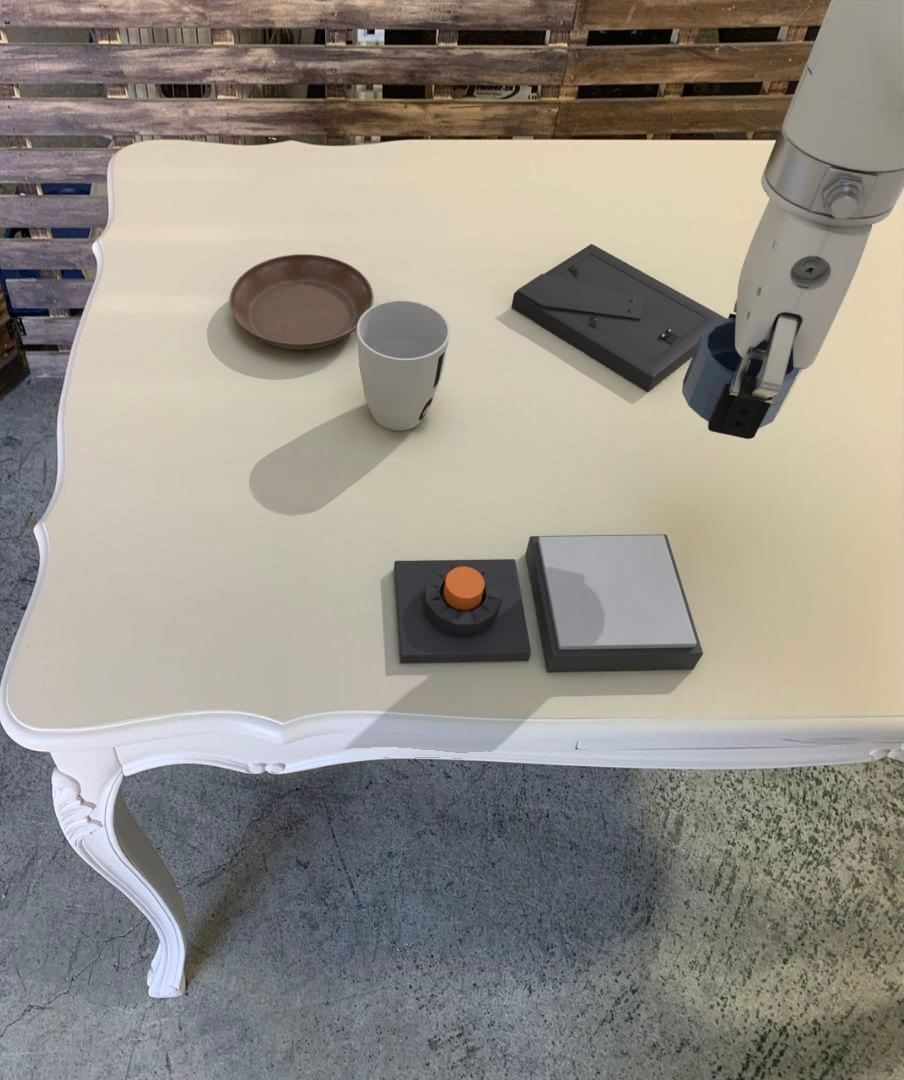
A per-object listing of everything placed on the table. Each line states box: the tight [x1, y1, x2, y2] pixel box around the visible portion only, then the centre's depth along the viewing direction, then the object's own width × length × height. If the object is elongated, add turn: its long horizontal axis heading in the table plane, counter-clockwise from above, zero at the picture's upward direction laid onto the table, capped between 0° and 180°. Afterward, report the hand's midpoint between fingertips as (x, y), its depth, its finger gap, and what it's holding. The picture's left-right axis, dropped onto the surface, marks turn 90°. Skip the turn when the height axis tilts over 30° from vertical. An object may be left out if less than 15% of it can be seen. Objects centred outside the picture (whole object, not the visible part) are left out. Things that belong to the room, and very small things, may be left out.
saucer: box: [229, 253, 374, 350], centre depth 93 cm, size 15×15×3 cm
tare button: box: [443, 567, 485, 611], centre depth 69 cm, size 3×3×2 cm
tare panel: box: [393, 558, 532, 664], centre depth 71 cm, size 10×9×3 cm
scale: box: [524, 533, 704, 673], centre depth 72 cm, size 12×12×3 cm
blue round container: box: [681, 317, 803, 429], centre depth 65 cm, size 7×7×5 cm
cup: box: [356, 299, 451, 432], centre depth 82 cm, size 8×8×10 cm
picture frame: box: [510, 243, 726, 392], centre depth 94 cm, size 13×2×18 cm
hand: (732, 394), depth 66 cm, fingers closed on blue round container, 7 cm apart
